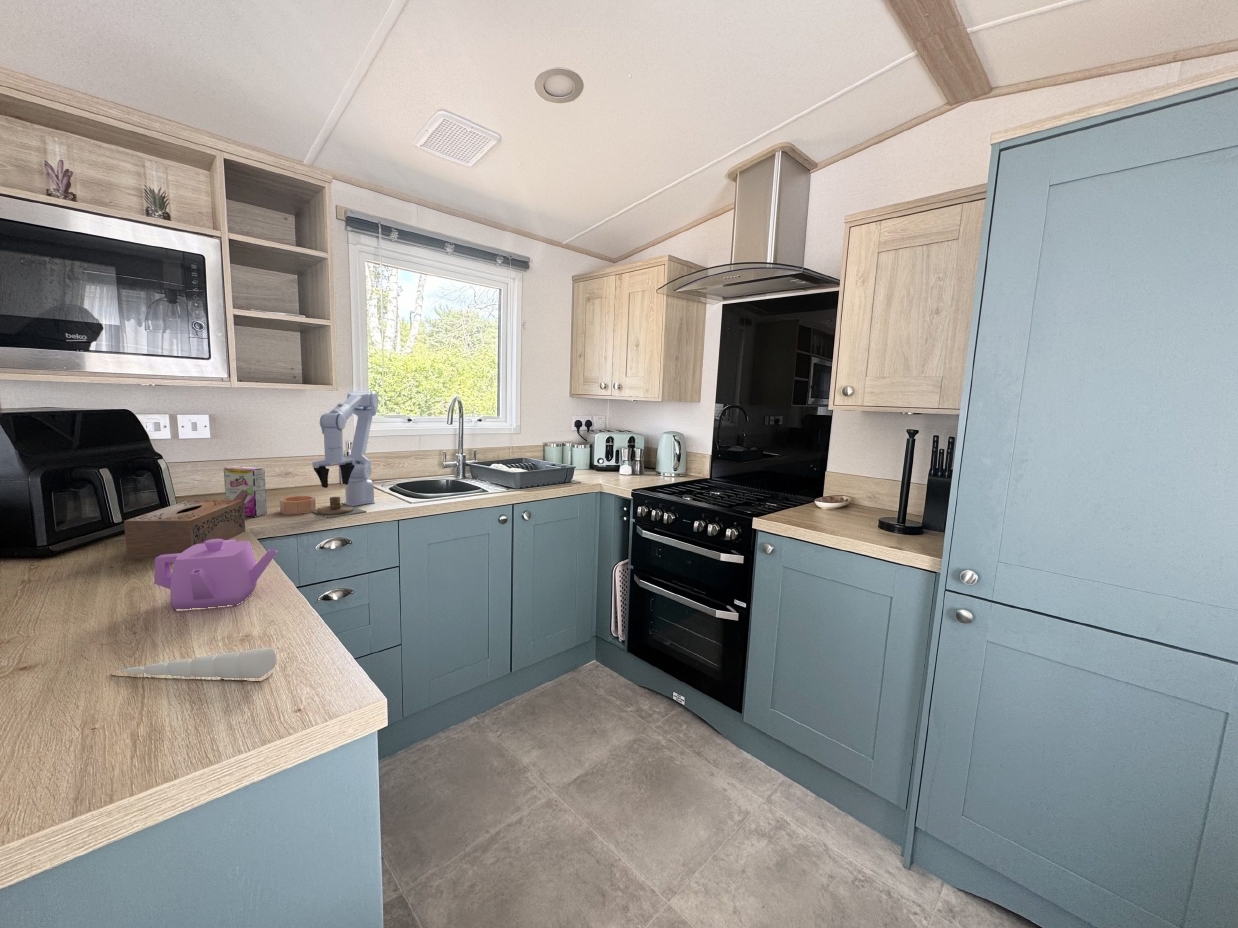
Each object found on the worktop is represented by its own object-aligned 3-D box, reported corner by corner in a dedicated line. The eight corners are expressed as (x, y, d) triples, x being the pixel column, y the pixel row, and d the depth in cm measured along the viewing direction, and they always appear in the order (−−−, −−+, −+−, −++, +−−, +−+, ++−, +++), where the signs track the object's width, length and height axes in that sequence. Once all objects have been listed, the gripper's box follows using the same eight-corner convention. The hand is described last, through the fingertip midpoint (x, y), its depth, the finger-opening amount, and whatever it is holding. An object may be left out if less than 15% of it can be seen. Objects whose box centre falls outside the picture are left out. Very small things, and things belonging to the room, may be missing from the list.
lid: (338, 506, 192) (337, 493, 191) (360, 510, 187) (359, 496, 187) (309, 512, 181) (309, 498, 181) (332, 516, 177) (332, 502, 176)
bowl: (307, 506, 191) (306, 494, 191) (319, 511, 185) (319, 498, 185) (276, 511, 183) (276, 498, 183) (288, 515, 177) (287, 502, 177)
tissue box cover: (191, 532, 155) (189, 499, 153) (245, 532, 157) (243, 499, 156) (127, 560, 130) (123, 520, 128) (193, 558, 132) (190, 520, 131)
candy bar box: (225, 515, 174) (222, 467, 172) (237, 512, 179) (234, 465, 177) (256, 517, 173) (253, 469, 171) (267, 514, 178) (265, 467, 176)
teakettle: (234, 578, 120) (230, 526, 118) (284, 590, 113) (282, 535, 112) (144, 604, 104) (138, 544, 102) (197, 621, 98) (192, 557, 96)
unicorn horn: (132, 664, 82) (129, 635, 82) (280, 671, 82) (279, 642, 82) (102, 680, 78) (99, 650, 77) (259, 687, 77) (257, 657, 77)
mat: (348, 506, 194) (348, 505, 194) (366, 512, 186) (366, 511, 186) (311, 512, 184) (311, 510, 184) (328, 518, 176) (328, 517, 176)
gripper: (345, 445, 189) (346, 481, 191) (306, 448, 177) (307, 487, 178) (358, 446, 186) (359, 483, 188) (319, 449, 173) (320, 489, 175)
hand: (335, 485), depth 183 cm, fingers open, 7 cm apart
